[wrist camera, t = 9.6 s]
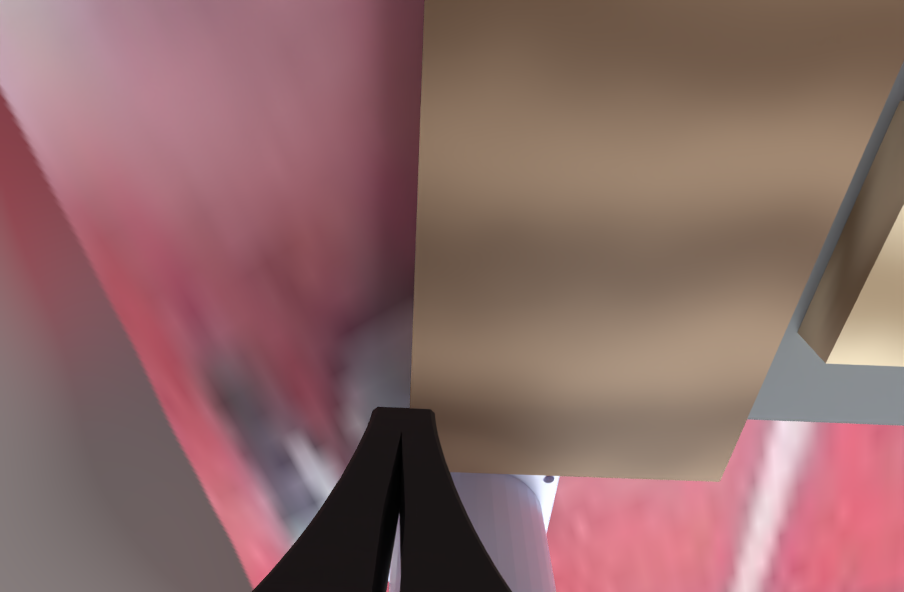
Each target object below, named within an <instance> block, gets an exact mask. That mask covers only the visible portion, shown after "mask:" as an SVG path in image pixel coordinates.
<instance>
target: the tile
mask: <svg viewBox="0 0 904 592" xmlns="http://www.w3.org/2000/svg"><path fill="white" fill-rule="evenodd" d="M797 333H798V334H799V335H800V336H801V337H802V338H803V339H804V340H805V342H806V343H807V344H808V345H809V346H810V347H811V348H812V349H813V350H814V351H815V352H816V354H817V355H818V356H819V357H820V358H821V359H822V360H823V361H824V362H825V363H826V364H849V365H874V366H900V367H904V101H900V102H899V105H898V107H897V109H896V111H895V114H894V116H893V118H892V120H891V123H890V125H889V127H888V129H887V132H886V134H885V136H884V138H883V141H882V143H881V145H880V147H879V150H878V152H877V154H876V156H875V159H874V161H873V163H872V166H871V168H870V170H869V172H868V175H867V177H866V179H865V181H864V184H863V186H862V188H861V190H860V193H859V195H858V197H857V199H856V202H855V204H854V206H853V208H852V211H851V213H850V215H849V217H848V220H847V222H846V224H845V226H844V229H843V231H842V233H841V235H840V238H839V240H838V242H837V244H836V247H835V249H834V251H833V254H832V256H831V258H830V260H829V263H828V265H827V267H826V269H825V272H824V274H823V276H822V278H821V281H820V283H819V285H818V287H817V290H816V292H815V294H814V296H813V299H812V301H811V303H810V305H809V308H808V310H807V312H806V314H805V317H804V319H803V321H802V323H801V326H800V328H799V330H798V332H797Z"/></svg>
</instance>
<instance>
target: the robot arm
mask: <svg viewBox="0 0 904 592" xmlns="http://www.w3.org/2000/svg"><path fill="white" fill-rule="evenodd" d="M559 477H560V476H547V477H546V476H544V475H516V474H488V473H460V472H450V471H449V469H448V466H447V463H446V460H445V457H444V454H443V451H442V447H441V444H440V440H439V436H438V432H437V427H436V420H435V413H434V412H433V411H432V410H431V409H415V408H391V407H377V408H376V409H374V410H373V412H372V415H371V418H370V421H369V423H368V426H367V428H366V431H365V433H364V435H363V437H362V439H361V441H360V443H359V445H358V447H357V449H356V451H355V453H354V455H353V457H352V458H351V460H350V462H349V464H348V466H347V467H346V469H345V471H344V473H343V474H342V476H341V478H340V479H339V481H338V483H337V484H336V486H335V487H334V489H333V490H332V492H331V493H330V495H329V496H328V498H327V500H326V501H325V503H324V504H323V506H322V507H321V509H320V510H319V511H318V513H317V514H316V516H315V517H314V518H313V520H312V521H311V523H310V524H309V525H308V527H307V528H306V529H305V531H304V532H303V533H302V534H301V536H300V537H299V538H298V540H297V541H296V542H295V543H294V545H293V546H292V547H291V548H290V549H289V551H288V552H287V553H286V554H285V555H284V556H283V558H282V559H281V560H280V561H279V562H278V564H277V565H276V566H275V567H274V568H273V569H272V570H271V572H270V573H269V574H268V575H267V576H266V577H265V578H264V579H263V580H262V581H261V583H260V584H259V585H258V586H257V587H256V588H255V589H254V590H253V591H252V592H386V590H387V584H388V581H389V582H390V584H389V592H556V587H555V581H554V576H553V570H552V564H551V558H550V553H549V547H548V541H547V536H546V534H547V529H548V525H549V521H550V516H551V512H552V508H553V503H554V499H555V495H556V490H557V486H558V482H559Z"/></svg>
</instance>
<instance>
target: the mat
mask: <svg viewBox="0 0 904 592" xmlns="http://www.w3.org/2000/svg"><path fill="white" fill-rule="evenodd" d="M900 101H904V62H903V64H902V66H901V68H900V71H899V73H898V75H897V78H896V80H895V82H894V84H893V87H892V89H891V91H890V94H889V96H888V98H887V100H886V103H885V105H884V107H883V110H882V112H881V114H880V116H879V119H878V121H877V123H876V126H875V128H874V130H873V132H872V135H871V137H870V139H869V142H868V144H867V146H866V148H865V151H864V153H863V155H862V158H861V160H860V162H859V164H858V167H857V169H856V171H855V174H854V176H853V178H852V180H851V183H850V185H849V187H848V190H847V192H846V194H845V196H844V199H843V201H842V203H841V206H840V208H839V210H838V212H837V215H836V217H835V219H834V222H833V224H832V226H831V228H830V231H829V233H828V235H827V238H826V240H825V242H824V244H823V247H822V249H821V251H820V254H819V256H818V258H817V260H816V263H815V265H814V267H813V270H812V272H811V274H810V276H809V279H808V281H807V283H806V286H805V288H804V290H803V292H802V295H801V297H800V299H799V302H798V304H797V306H796V308H795V311H794V313H793V315H792V318H791V320H790V322H789V324H788V327H787V329H786V331H785V334H784V336H783V338H782V340H781V343H780V345H779V347H778V350H777V352H776V354H775V356H774V359H773V361H772V363H771V366H770V368H769V370H768V372H767V375H766V377H765V379H764V382H763V384H762V386H761V388H760V391H759V393H758V395H757V398H756V400H755V402H754V404H753V407H752V409H751V411H750V414H749V416H748V418H747V419H754V420H779V421H804V422H829V423H854V424H878V425H903V426H904V367H900V366H874V365H849V364H826V363H825V362H824V361H823V360H822V359H821V358H820V357H819V356H818V355H817V354H816V352H815V351H814V350H813V349H812V348H811V347H810V346H809V345H808V344H807V343H806V342H805V340H804V339H803V338H802V337H801V336H800V335H799V334H798V333H797V332H798V330H799V328H800V326H801V323H802V321H803V319H804V317H805V314H806V312H807V310H808V308H809V305H810V303H811V301H812V299H813V296H814V294H815V292H816V290H817V287H818V285H819V283H820V281H821V278H822V276H823V274H824V272H825V269H826V267H827V265H828V263H829V260H830V258H831V256H832V254H833V251H834V249H835V247H836V244H837V242H838V240H839V238H840V235H841V233H842V231H843V229H844V226H845V224H846V222H847V220H848V217H849V215H850V213H851V211H852V208H853V206H854V204H855V202H856V199H857V197H858V195H859V193H860V190H861V188H862V186H863V184H864V181H865V179H866V177H867V175H868V172H869V170H870V168H871V166H872V163H873V161H874V159H875V156H876V154H877V152H878V150H879V147H880V145H881V143H882V141H883V138H884V136H885V134H886V132H887V129H888V127H889V125H890V123H891V120H892V118H893V116H894V114H895V111H896V109H897V107H898V105H899V102H900Z"/></svg>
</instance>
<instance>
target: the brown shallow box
mask: <svg viewBox="0 0 904 592" xmlns="http://www.w3.org/2000/svg"><path fill="white" fill-rule="evenodd" d="M903 62H904V0H424V28H423V56H422V83H421V111H420V139H419V166H418V194H417V222H416V249H415V277H414V304H413V332H412V360H411V387H410V408H415V409H431V410H432V411H433V412H434V413H435V420H436V427H437V432H438V436H439V440H440V444H441V447H442V451H443V454H444V457H445V460H446V463H447V466H448V469H449V471H450V472H460V473H488V474H516V475H544V476H573V477H601V478H629V479H657V480H686V481H714V482H720V480H721V478H722V475H723V473H724V471H725V468H726V466H727V464H728V462H729V459H730V457H731V455H732V452H733V450H734V448H735V446H736V443H737V441H738V439H739V436H740V434H741V432H742V430H743V427H744V425H745V423H746V420H747V418H748V416H749V414H750V411H751V409H752V407H753V404H754V402H755V400H756V398H757V395H758V393H759V391H760V388H761V386H762V384H763V382H764V379H765V377H766V375H767V372H768V370H769V368H770V366H771V363H772V361H773V359H774V356H775V354H776V352H777V350H778V347H779V345H780V343H781V340H782V338H783V336H784V334H785V331H786V329H787V327H788V324H789V322H790V320H791V318H792V315H793V313H794V311H795V308H796V306H797V304H798V302H799V299H800V297H801V295H802V292H803V290H804V288H805V286H806V283H807V281H808V279H809V276H810V274H811V272H812V270H813V267H814V265H815V263H816V260H817V258H818V256H819V254H820V251H821V249H822V247H823V244H824V242H825V240H826V238H827V235H828V233H829V231H830V228H831V226H832V224H833V222H834V219H835V217H836V215H837V212H838V210H839V208H840V206H841V203H842V201H843V199H844V196H845V194H846V192H847V190H848V187H849V185H850V183H851V180H852V178H853V176H854V174H855V171H856V169H857V167H858V164H859V162H860V160H861V158H862V155H863V153H864V151H865V148H866V146H867V144H868V142H869V139H870V137H871V135H872V132H873V130H874V128H875V126H876V123H877V121H878V119H879V116H880V114H881V112H882V110H883V107H884V105H885V103H886V100H887V98H888V96H889V94H890V91H891V89H892V87H893V84H894V82H895V80H896V78H897V75H898V73H899V71H900V68H901V66H902V64H903Z"/></svg>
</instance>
